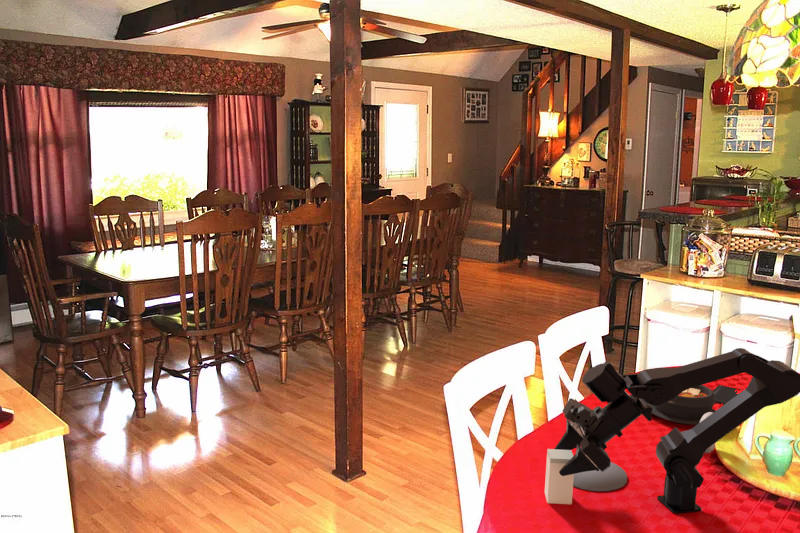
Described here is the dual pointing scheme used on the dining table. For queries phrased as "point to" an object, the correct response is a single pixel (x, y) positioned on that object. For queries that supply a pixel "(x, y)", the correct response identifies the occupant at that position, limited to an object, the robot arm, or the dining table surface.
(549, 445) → the dining table surface
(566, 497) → the card box
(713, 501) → the dining table surface
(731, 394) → the phone
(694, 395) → the casserole
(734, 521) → the dining table surface
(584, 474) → the mat
